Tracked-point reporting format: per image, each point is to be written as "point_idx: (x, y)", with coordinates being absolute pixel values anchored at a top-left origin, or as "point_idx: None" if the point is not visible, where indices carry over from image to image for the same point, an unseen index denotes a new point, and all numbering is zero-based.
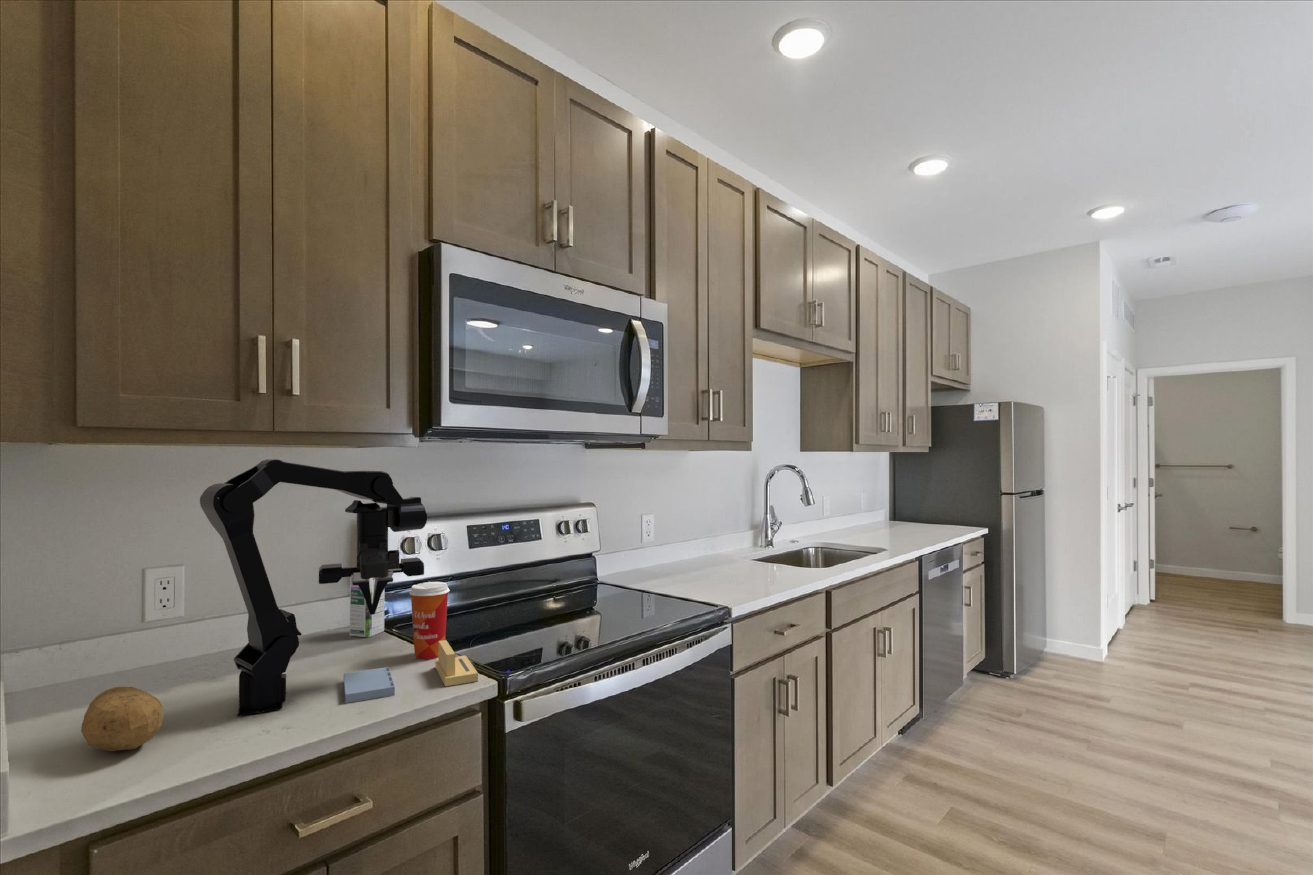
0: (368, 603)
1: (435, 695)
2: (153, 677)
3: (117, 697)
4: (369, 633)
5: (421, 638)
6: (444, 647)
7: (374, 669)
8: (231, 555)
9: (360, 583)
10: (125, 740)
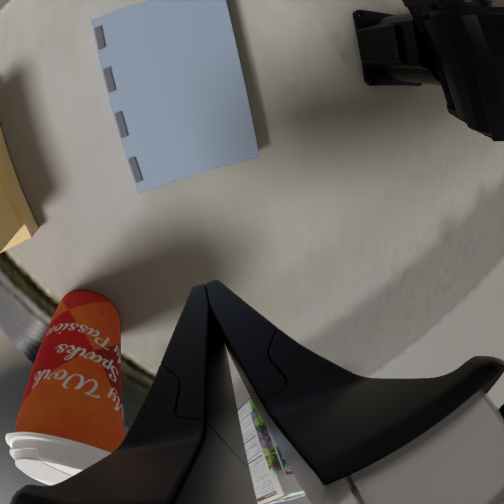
0: (242, 314)
1: (9, 29)
2: (479, 249)
3: None
4: (251, 404)
5: (83, 325)
6: None
7: (175, 175)
8: None
9: (442, 401)
10: None
